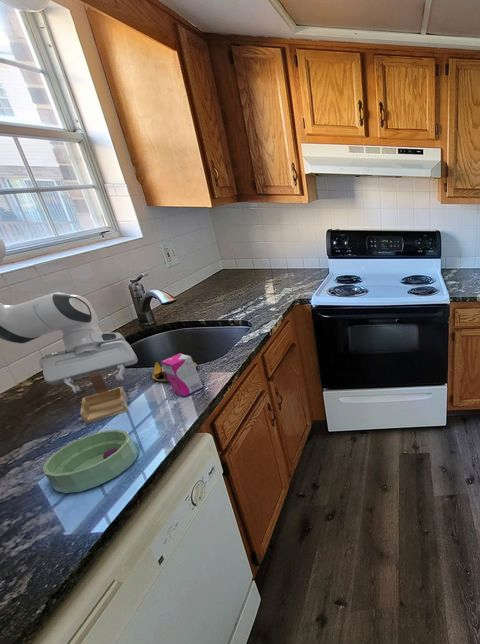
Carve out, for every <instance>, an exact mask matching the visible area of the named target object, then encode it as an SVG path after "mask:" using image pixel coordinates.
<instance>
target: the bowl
mask: <svg viewBox="0 0 480 644" xmlns="http://www.w3.org/2000/svg"><path fill="white" fill-rule="evenodd" d="M109 449H118V450H117V451H116V452H115V453H113V454H112V455H110V456H109V457H107V458H106V459H104V458H103V455H104V453H105V452H106V451H107V450H109ZM138 453H139V450H138V448H137V447H136V444H135V442H134V441H133V438H132V437H131V435H130V434H129V432H128V431H127V430H122V429H109V430H102V431H99V432H95V433H92V434H88V435H86V436H83V437H81V438H79V439H76V440H74V441H72V442H70V443H68V444H66V445H65V446H62V447H61V448H59V449H58V450H57V451H55V452H54V453H52V455H50V456H49V457H48V458H47V459H46V460H45V462H44V464H43V466H42V472H43V473H44V475H45V477H46V478H47V480H48V482H49V483H50V484H51V486H52V488H53V489H54V490H55V491H56V492H60V493H62V494H63V493H64V494H69V493H79V492H83V491H86V490H89V489H93V488H95V487H98V486H100V485H102V484H105V483H106V482H109V481H110V480H112V479H115V478H116V477H117V476H119V475H120V474H122V473H123V472H125V471H126V470H127V469H129V468H130V467H131V465H132V464H133V463H135V461H136V460H137V457H138Z"/></svg>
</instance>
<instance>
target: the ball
mask: <svg viewBox="0 0 480 644" xmlns="http://www.w3.org/2000/svg"><path fill="white" fill-rule="evenodd" d="M117 450H118V449H109V450H107V451H106V452H105V453H104V455H103V458H104V459H106V458H107V457H109V456H110V455H112V454H113V453H115V452H116V451H117Z"/></svg>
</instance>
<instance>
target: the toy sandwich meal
mask: <svg viewBox="0 0 480 644" xmlns="http://www.w3.org/2000/svg"><path fill="white" fill-rule="evenodd" d="M193 363H194V366H195V368H196V369H197V367H198V365H197V363H196V362H194V361H193ZM153 370H154V371H153V372H154V373H152V375H151V379H152V380H154V381H158V382H160V383H168V382H169V380H168V377H167V375H166V373H165V371H164V368H163V366H161V365H160V364H159V362H155V364H154V369H153ZM169 383H170V382H169Z"/></svg>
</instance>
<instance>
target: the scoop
mask: <svg viewBox="0 0 480 644" xmlns="http://www.w3.org/2000/svg"><path fill="white" fill-rule="evenodd" d="M88 378H89V381H90V383H91V384H92V386H93V387H94V390H95V391H96V393H95V394H92V395H91V394H90V395H88V396H85V397H82V399H81V403H80V411H79V415H80V416H81V418H82V420H83V422H84V423H85V425H89V424H92V423H95V422H98V421H101V420H104V419H107V418H111V417H115V416H117V415H120V414H123V413H127V412H129V403H128V402H129V401H128V395H127V393H126V390H125V389H124V386H119V387H115V388H113V389H110V388H109V385H108V384H107V382H106V380H105V378H104V376H103V374H102V373H101V372H98V373H94V374H90V376H88Z"/></svg>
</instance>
